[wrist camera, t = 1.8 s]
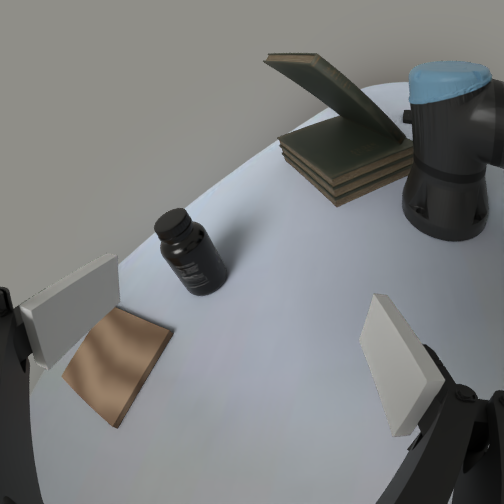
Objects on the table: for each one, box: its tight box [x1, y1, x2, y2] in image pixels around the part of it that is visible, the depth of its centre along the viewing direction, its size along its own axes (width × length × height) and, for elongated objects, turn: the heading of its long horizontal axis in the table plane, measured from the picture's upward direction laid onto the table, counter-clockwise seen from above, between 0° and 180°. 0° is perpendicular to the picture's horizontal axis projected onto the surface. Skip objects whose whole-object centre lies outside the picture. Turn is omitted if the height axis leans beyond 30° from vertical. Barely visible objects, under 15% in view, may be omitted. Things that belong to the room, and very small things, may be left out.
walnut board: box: [61, 307, 173, 429], centre depth 37 cm, size 16×16×1 cm
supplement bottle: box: [154, 208, 227, 296], centre depth 39 cm, size 7×7×12 cm
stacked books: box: [263, 53, 413, 207], centre depth 46 cm, size 23×20×25 cm
